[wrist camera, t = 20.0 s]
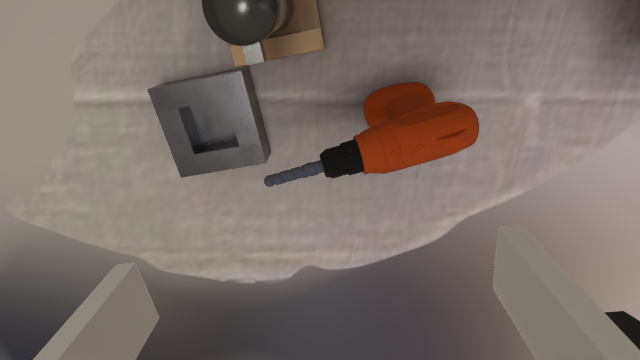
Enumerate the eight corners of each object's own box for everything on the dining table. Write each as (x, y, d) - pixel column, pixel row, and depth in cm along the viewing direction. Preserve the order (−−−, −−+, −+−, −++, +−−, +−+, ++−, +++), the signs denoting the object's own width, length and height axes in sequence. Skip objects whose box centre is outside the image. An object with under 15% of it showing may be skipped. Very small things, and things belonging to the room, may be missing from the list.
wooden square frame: (307, -53, 34) (305, -60, 30) (324, 46, 37) (324, 48, 34) (217, -32, 35) (206, -37, 31) (242, 62, 38) (235, 66, 35)
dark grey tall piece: (241, -26, 34) (184, -51, 21) (287, -37, 34) (260, -69, 20) (260, 49, 37) (221, 71, 24) (303, 40, 37) (288, 57, 23)
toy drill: (262, 121, 39) (251, 168, 25) (425, 74, 39) (503, 96, 25) (276, 161, 41) (272, 224, 27) (431, 116, 41) (507, 157, 27)
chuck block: (248, 66, 38) (241, 70, 35) (270, 152, 42) (266, 163, 39) (162, 84, 39) (147, 89, 36) (192, 165, 43) (181, 177, 40)
